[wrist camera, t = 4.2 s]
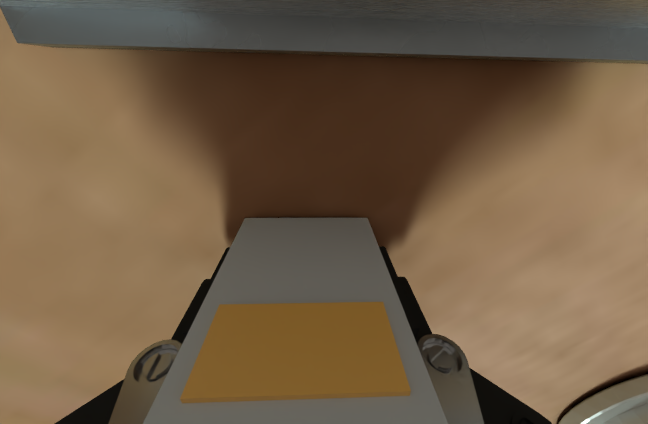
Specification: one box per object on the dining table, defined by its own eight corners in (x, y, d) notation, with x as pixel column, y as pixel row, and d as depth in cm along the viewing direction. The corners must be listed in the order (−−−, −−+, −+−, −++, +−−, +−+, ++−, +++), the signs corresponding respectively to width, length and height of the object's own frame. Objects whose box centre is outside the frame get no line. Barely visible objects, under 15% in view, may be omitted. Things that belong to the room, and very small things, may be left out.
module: (367, 214, 10) (452, 424, 4) (357, 303, 13) (399, 519, 6) (244, 214, 10) (130, 438, 4) (258, 304, 12) (202, 529, 6)
